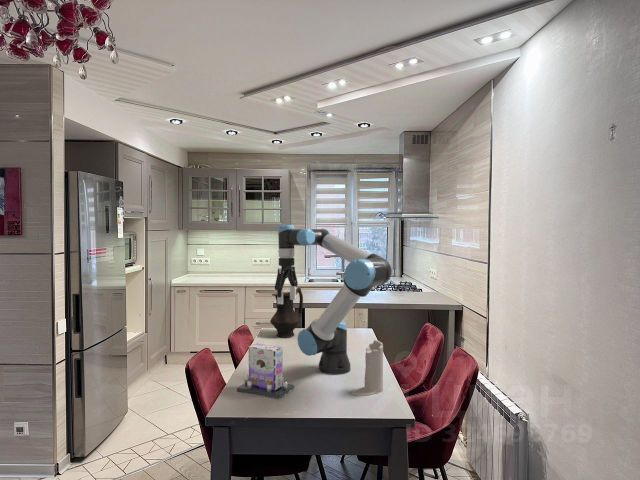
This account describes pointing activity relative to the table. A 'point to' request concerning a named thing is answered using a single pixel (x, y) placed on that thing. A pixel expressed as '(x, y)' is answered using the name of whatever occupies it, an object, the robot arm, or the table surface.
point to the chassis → (268, 392)
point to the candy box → (266, 366)
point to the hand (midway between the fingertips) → (286, 301)
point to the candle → (373, 370)
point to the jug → (287, 315)
